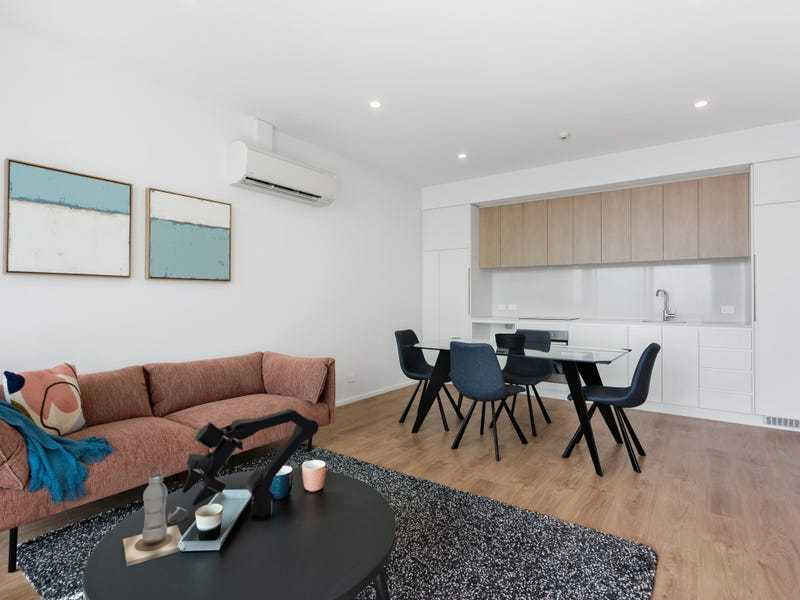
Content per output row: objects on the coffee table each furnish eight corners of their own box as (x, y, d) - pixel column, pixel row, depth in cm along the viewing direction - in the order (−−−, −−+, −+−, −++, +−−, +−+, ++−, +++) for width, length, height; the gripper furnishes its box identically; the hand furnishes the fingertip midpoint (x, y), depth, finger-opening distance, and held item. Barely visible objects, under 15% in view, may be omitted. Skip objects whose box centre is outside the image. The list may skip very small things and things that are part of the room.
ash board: (176, 528, 140) (176, 524, 140) (185, 549, 128) (185, 544, 128) (123, 542, 131) (123, 538, 131) (126, 566, 119) (126, 561, 119)
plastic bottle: (170, 540, 131) (172, 475, 131) (146, 549, 125) (148, 481, 126) (161, 533, 135) (163, 470, 135) (138, 542, 129) (140, 476, 130)
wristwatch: (166, 523, 144) (166, 508, 144) (184, 517, 148) (185, 502, 149) (169, 527, 141) (170, 511, 142) (189, 520, 146) (189, 505, 146)
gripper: (192, 434, 144) (158, 477, 138) (213, 455, 131) (177, 503, 125) (216, 448, 151) (185, 489, 145) (239, 469, 137) (206, 515, 132)
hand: (188, 498), depth 136 cm, fingers open, 9 cm apart
